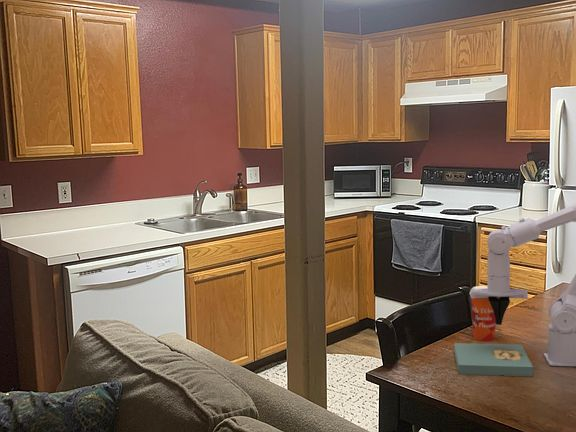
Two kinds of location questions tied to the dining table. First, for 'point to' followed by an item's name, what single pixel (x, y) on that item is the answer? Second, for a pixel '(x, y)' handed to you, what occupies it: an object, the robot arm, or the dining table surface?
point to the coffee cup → (482, 318)
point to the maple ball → (506, 355)
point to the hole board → (492, 359)
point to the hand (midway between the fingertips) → (498, 323)
